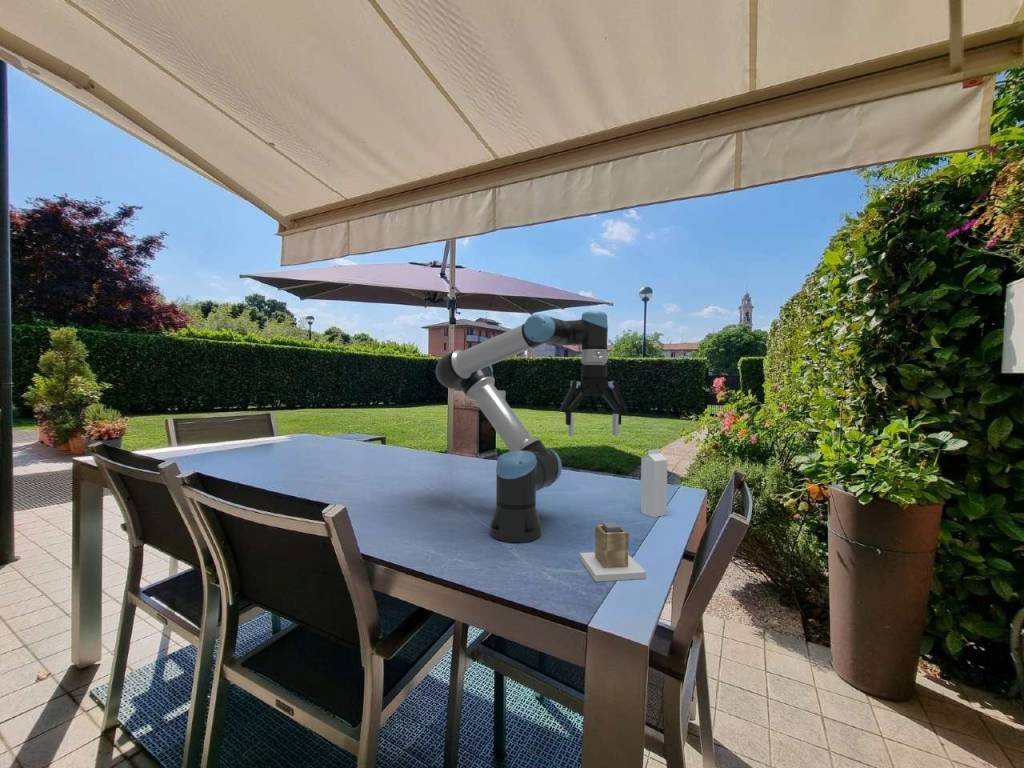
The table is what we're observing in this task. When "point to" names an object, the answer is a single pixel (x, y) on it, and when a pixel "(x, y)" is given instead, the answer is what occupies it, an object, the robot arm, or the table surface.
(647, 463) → the milk
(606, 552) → the collar
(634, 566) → the post board
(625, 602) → the table surface
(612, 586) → the table surface
